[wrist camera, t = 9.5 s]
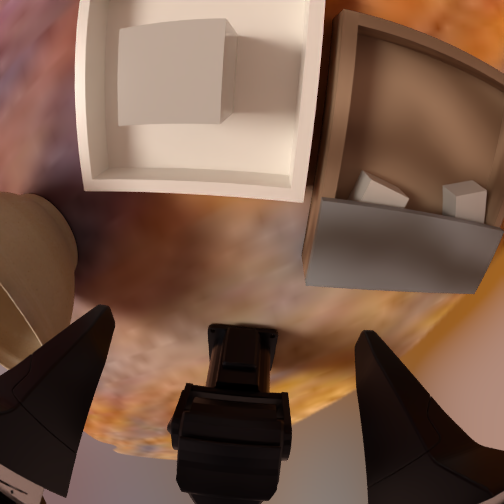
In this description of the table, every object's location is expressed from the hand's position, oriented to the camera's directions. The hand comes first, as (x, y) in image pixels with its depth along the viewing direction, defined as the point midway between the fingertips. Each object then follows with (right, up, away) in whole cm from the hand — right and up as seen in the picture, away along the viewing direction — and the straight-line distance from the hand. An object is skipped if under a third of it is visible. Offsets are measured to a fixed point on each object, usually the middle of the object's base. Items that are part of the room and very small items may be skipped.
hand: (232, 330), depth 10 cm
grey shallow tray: (+12, +9, +8) cm, 17 cm away
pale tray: (-3, +14, +6) cm, 15 cm away
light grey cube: (-3, +13, +5) cm, 14 cm away
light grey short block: (+9, +6, +9) cm, 14 cm away
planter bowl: (-20, +4, +13) cm, 24 cm away
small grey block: (+16, +7, +8) cm, 19 cm away
